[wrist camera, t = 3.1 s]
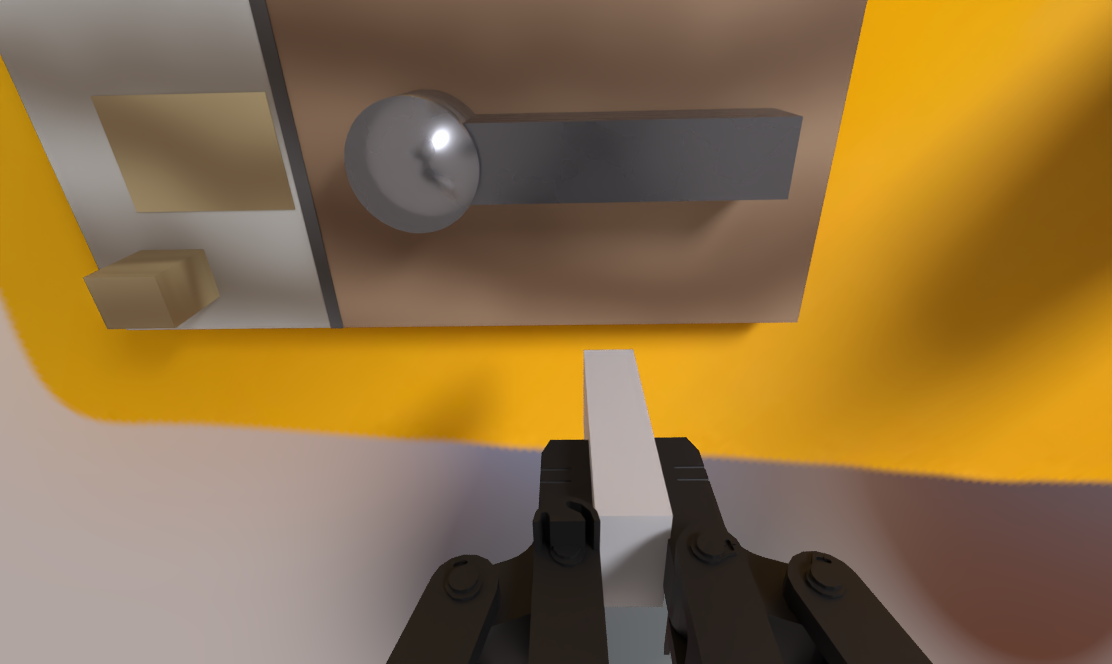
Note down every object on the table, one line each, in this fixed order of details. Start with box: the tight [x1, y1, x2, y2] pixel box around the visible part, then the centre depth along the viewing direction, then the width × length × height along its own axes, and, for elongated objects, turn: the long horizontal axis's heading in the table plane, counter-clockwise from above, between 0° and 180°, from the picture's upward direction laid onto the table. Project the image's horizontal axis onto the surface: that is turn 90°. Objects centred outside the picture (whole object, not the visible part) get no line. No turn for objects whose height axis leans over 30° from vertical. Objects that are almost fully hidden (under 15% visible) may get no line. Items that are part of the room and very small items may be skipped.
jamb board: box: [0, 0, 867, 330], centre depth 17 cm, size 20×28×5 cm
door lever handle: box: [344, 89, 803, 233], centre depth 17 cm, size 14×4×3 cm, turn 91°
